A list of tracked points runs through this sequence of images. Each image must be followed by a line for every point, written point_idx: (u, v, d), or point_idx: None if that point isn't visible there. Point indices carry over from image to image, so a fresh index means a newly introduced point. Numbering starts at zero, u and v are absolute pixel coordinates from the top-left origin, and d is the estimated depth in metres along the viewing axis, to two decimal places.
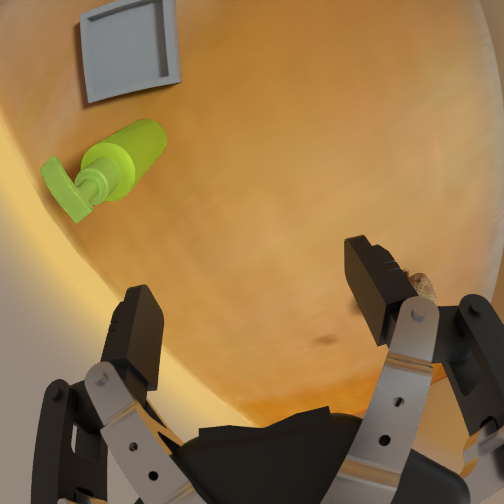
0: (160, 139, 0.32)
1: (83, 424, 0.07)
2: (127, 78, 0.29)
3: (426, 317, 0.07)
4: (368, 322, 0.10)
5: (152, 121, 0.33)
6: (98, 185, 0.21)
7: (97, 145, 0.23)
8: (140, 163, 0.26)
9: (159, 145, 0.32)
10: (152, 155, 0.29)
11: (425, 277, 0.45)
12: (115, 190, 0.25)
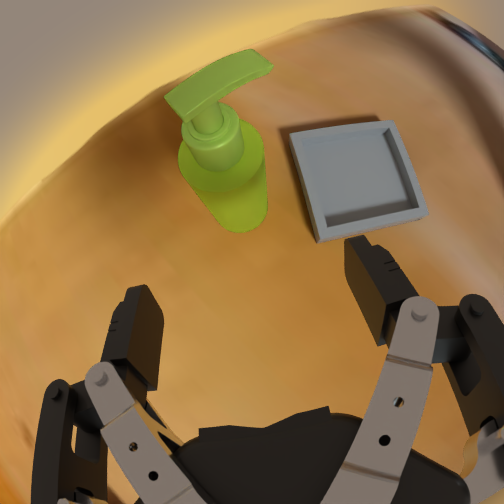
0: (247, 224, 0.28)
1: (83, 424, 0.07)
2: (318, 178, 0.31)
3: (426, 317, 0.07)
4: (368, 322, 0.10)
5: (266, 212, 0.31)
6: (213, 134, 0.15)
7: (259, 138, 0.19)
8: (229, 199, 0.20)
9: (240, 224, 0.27)
10: (231, 216, 0.24)
11: None
12: (194, 164, 0.19)
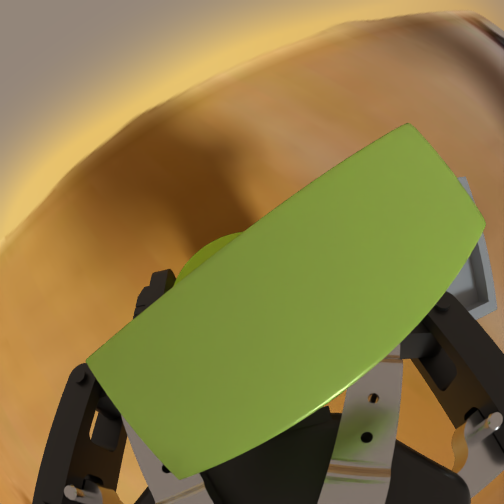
0: None
1: (105, 411, 0.08)
2: None
3: None
4: None
5: None
6: None
7: None
8: None
9: None
10: None
11: None
12: None
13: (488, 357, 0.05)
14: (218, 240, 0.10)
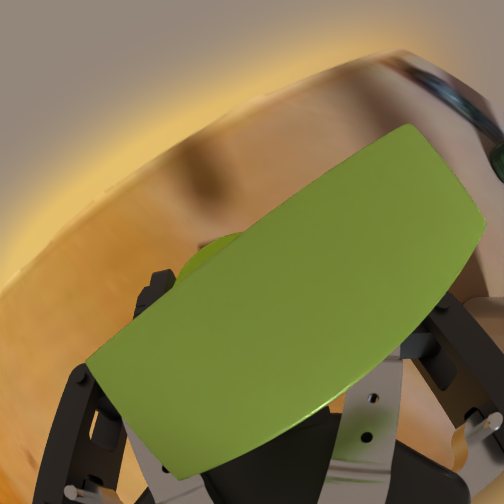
0: None
1: (105, 411, 0.08)
2: None
3: None
4: None
5: None
6: None
7: None
8: None
9: None
10: None
11: None
12: None
13: (489, 357, 0.05)
14: (218, 240, 0.10)
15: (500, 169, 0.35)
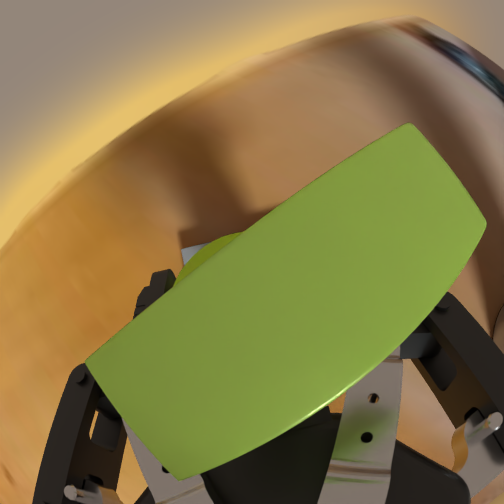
0: None
1: (105, 411, 0.08)
2: None
3: None
4: None
5: None
6: None
7: None
8: None
9: None
10: None
11: None
12: None
13: (488, 357, 0.05)
14: (218, 240, 0.10)
15: None
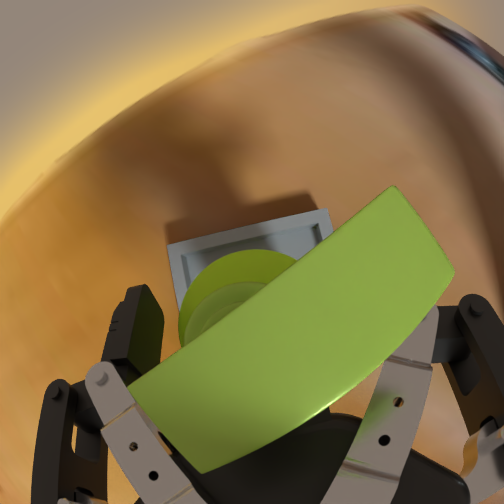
0: None
1: (83, 424, 0.07)
2: None
3: (425, 317, 0.07)
4: None
5: None
6: None
7: None
8: None
9: None
10: None
11: None
12: None
13: None
14: (223, 258, 0.11)
15: None
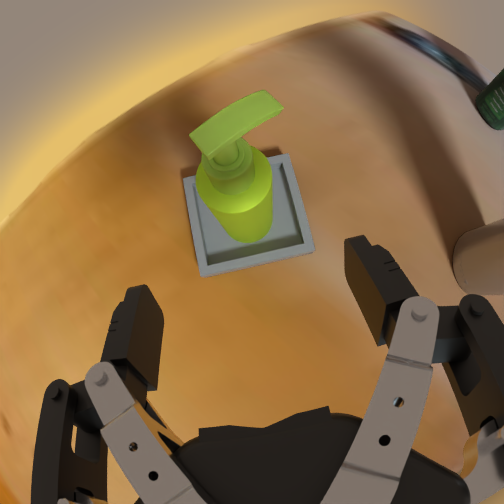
0: (254, 236, 0.31)
1: (83, 424, 0.07)
2: (208, 218, 0.35)
3: (426, 317, 0.07)
4: (368, 322, 0.10)
5: (271, 224, 0.34)
6: (230, 166, 0.18)
7: (268, 164, 0.22)
8: (241, 218, 0.23)
9: (248, 236, 0.30)
10: (241, 230, 0.27)
11: None
12: (211, 188, 0.22)
13: None
14: None
15: (486, 112, 0.33)
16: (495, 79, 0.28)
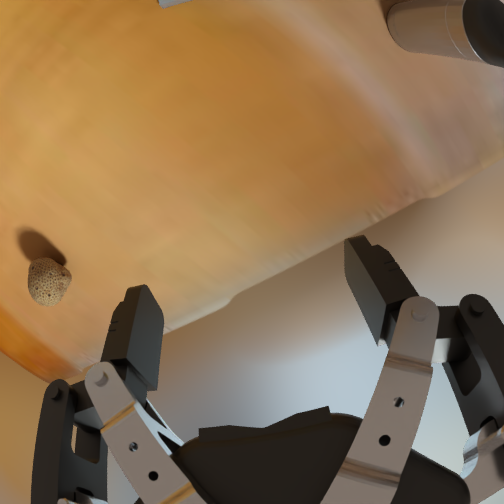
0: None
1: (83, 424, 0.07)
2: None
3: (426, 317, 0.07)
4: (368, 322, 0.10)
5: None
6: None
7: None
8: None
9: None
10: None
11: (69, 279, 0.47)
12: None
13: None
14: None
15: None
16: None
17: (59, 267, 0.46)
